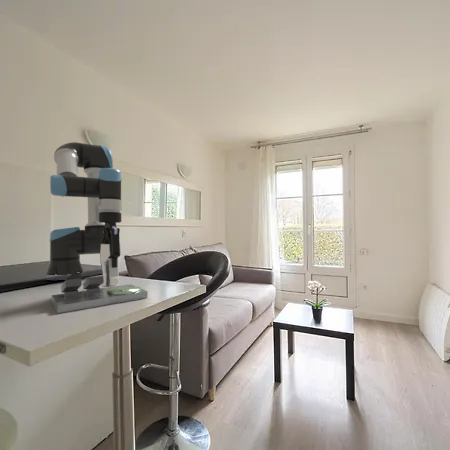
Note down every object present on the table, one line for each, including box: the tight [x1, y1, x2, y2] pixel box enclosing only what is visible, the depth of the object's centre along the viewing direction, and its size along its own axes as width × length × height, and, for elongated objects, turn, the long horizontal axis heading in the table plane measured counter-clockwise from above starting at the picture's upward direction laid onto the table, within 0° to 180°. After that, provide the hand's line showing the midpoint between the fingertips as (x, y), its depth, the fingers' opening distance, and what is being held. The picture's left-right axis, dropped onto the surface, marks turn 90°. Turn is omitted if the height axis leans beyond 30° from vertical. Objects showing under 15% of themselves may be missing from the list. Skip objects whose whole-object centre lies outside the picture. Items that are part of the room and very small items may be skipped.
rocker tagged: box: [60, 278, 83, 294], centre depth 80 cm, size 9×4×2 cm, turn 38°
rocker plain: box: [82, 275, 104, 291], centre depth 83 cm, size 9×4×2 cm, turn 38°
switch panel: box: [50, 284, 148, 314], centre depth 82 cm, size 15×24×3 cm, turn 128°
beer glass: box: [99, 243, 122, 288], centre depth 96 cm, size 7×7×15 cm
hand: (110, 275), depth 96 cm, fingers closed on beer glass, 7 cm apart
